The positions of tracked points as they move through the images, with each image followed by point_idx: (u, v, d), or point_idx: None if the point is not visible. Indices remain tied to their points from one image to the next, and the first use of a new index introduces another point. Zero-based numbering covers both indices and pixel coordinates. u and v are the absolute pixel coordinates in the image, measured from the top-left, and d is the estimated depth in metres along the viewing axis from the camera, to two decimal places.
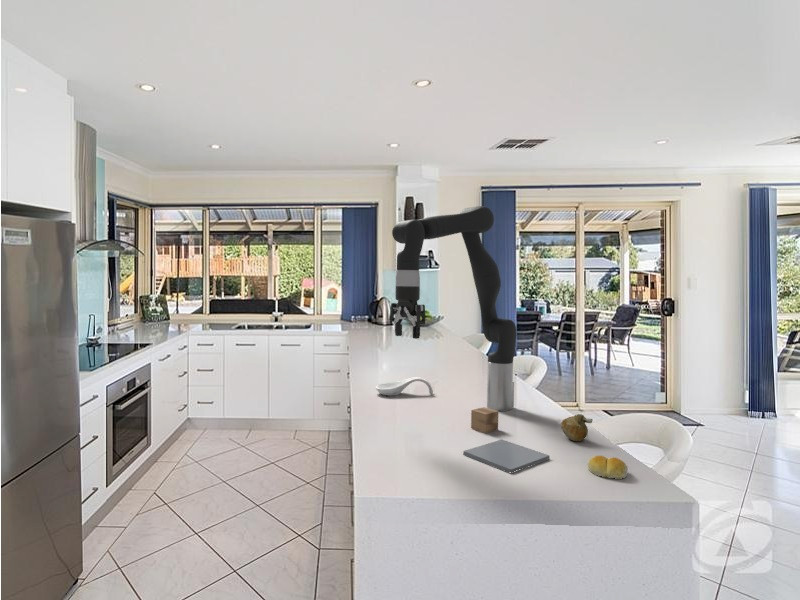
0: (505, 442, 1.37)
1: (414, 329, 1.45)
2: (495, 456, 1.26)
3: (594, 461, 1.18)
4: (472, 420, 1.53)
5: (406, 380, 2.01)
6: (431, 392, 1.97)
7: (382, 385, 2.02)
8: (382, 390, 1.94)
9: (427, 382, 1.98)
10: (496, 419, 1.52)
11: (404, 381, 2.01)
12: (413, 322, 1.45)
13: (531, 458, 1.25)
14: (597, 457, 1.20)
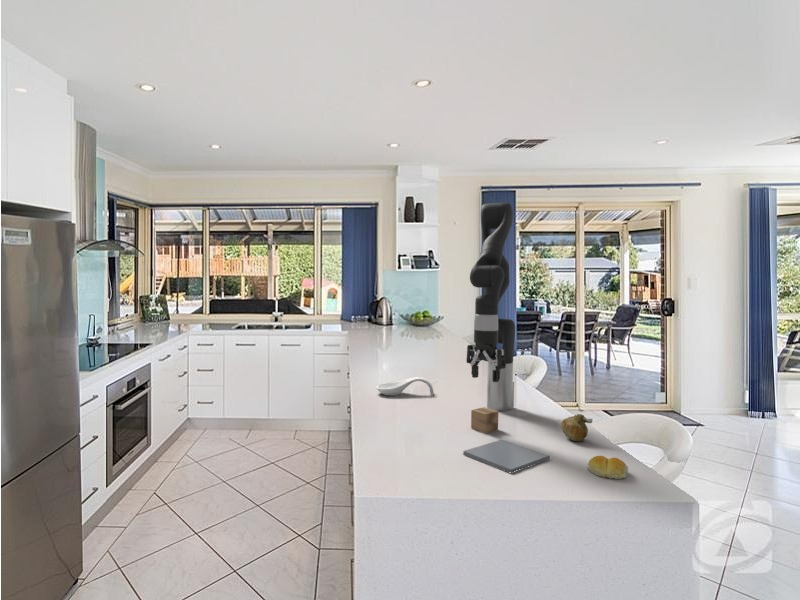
0: (505, 442, 1.37)
1: (494, 373, 1.48)
2: (495, 456, 1.26)
3: (595, 460, 1.18)
4: (472, 420, 1.53)
5: (407, 380, 2.01)
6: (432, 392, 1.97)
7: (383, 385, 2.03)
8: (382, 390, 1.94)
9: (428, 382, 1.97)
10: (496, 419, 1.52)
11: (405, 381, 2.01)
12: (493, 366, 1.48)
13: (531, 458, 1.25)
14: (597, 457, 1.20)
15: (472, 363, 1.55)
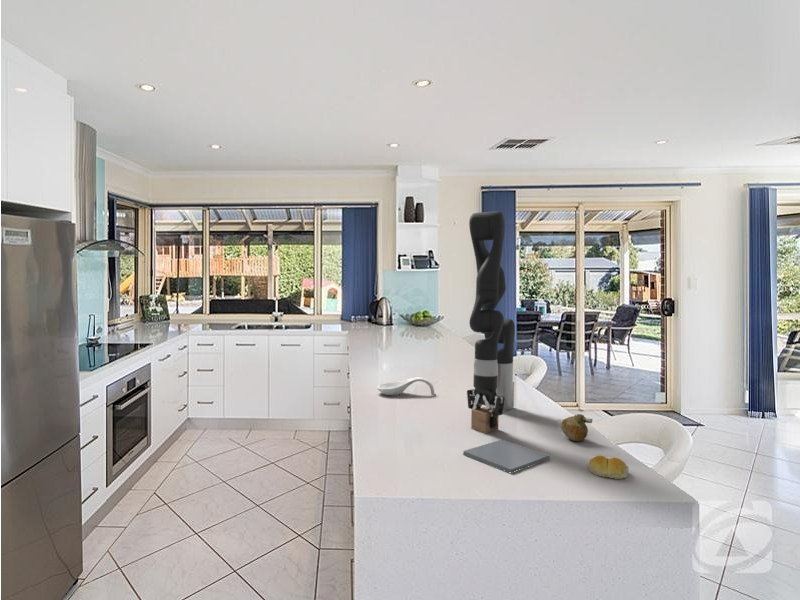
0: (505, 442, 1.37)
1: (491, 419, 1.49)
2: (495, 456, 1.26)
3: (595, 461, 1.18)
4: (473, 420, 1.53)
5: (408, 380, 2.01)
6: (432, 392, 1.96)
7: (384, 385, 2.03)
8: (383, 390, 1.94)
9: (428, 382, 1.97)
10: None
11: (406, 381, 2.01)
12: (491, 413, 1.49)
13: (531, 458, 1.25)
14: (598, 457, 1.20)
15: None
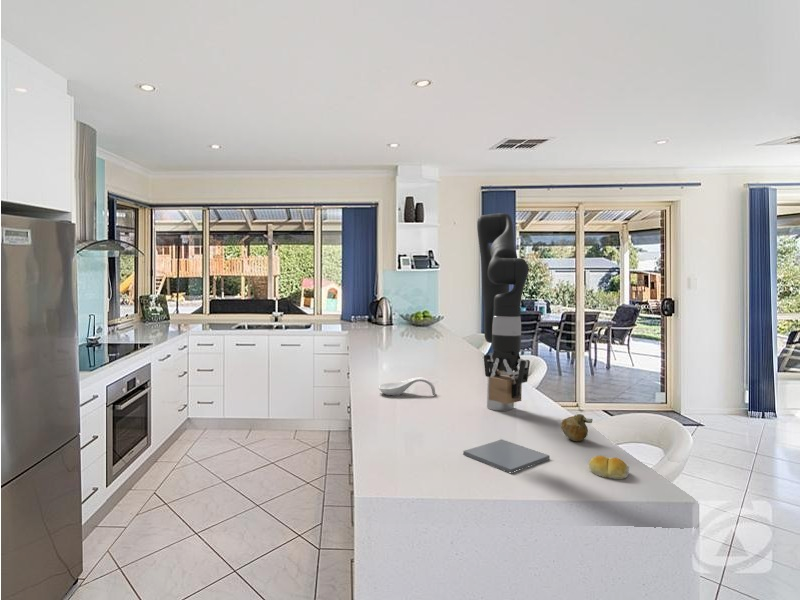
0: (505, 442, 1.37)
1: (514, 388, 1.25)
2: (495, 456, 1.26)
3: (595, 461, 1.18)
4: (491, 390, 1.28)
5: (409, 380, 2.01)
6: (433, 393, 1.96)
7: (386, 385, 2.03)
8: (384, 390, 1.94)
9: (429, 382, 1.97)
10: None
11: (407, 381, 2.01)
12: (513, 379, 1.24)
13: (531, 458, 1.25)
14: (598, 457, 1.19)
15: None
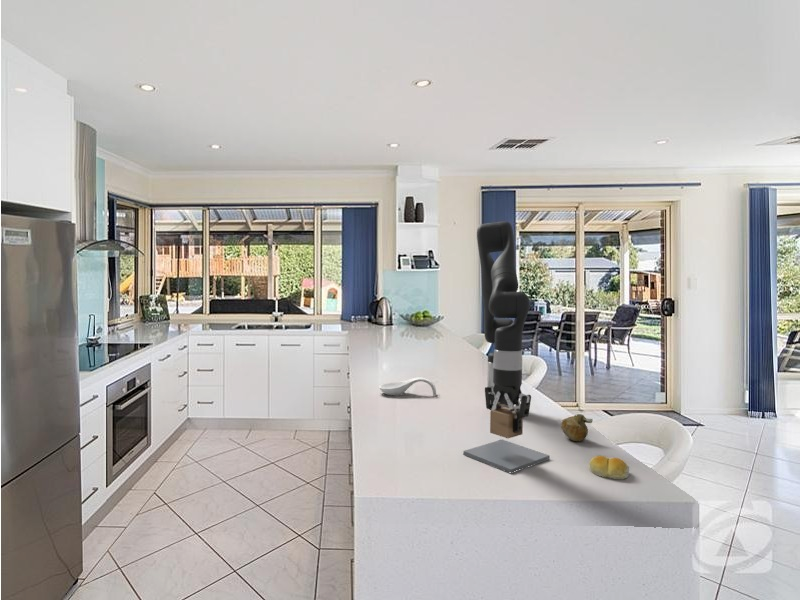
0: (505, 442, 1.37)
1: (515, 422, 1.25)
2: (495, 456, 1.26)
3: (596, 461, 1.18)
4: (492, 423, 1.28)
5: (410, 380, 2.01)
6: (434, 393, 1.96)
7: (387, 385, 2.03)
8: (384, 389, 1.95)
9: (430, 383, 1.96)
10: None
11: (408, 381, 2.01)
12: (514, 414, 1.24)
13: (531, 458, 1.25)
14: (598, 457, 1.19)
15: None
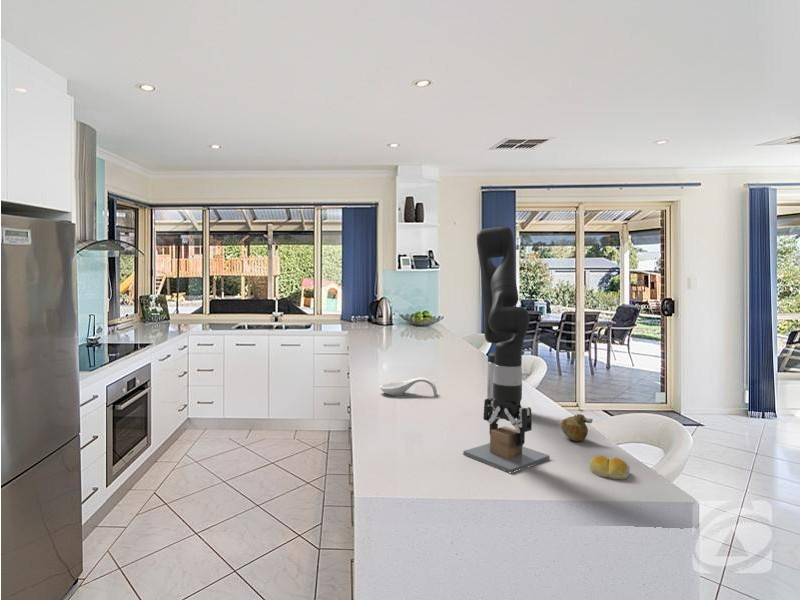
0: None
1: (518, 436, 1.24)
2: (495, 456, 1.26)
3: (596, 461, 1.18)
4: (492, 443, 1.28)
5: (411, 380, 2.00)
6: (435, 393, 1.95)
7: (388, 385, 2.04)
8: (385, 389, 1.95)
9: (431, 383, 1.96)
10: None
11: (409, 381, 2.01)
12: (517, 428, 1.24)
13: (531, 458, 1.25)
14: (599, 457, 1.19)
15: (490, 421, 1.31)
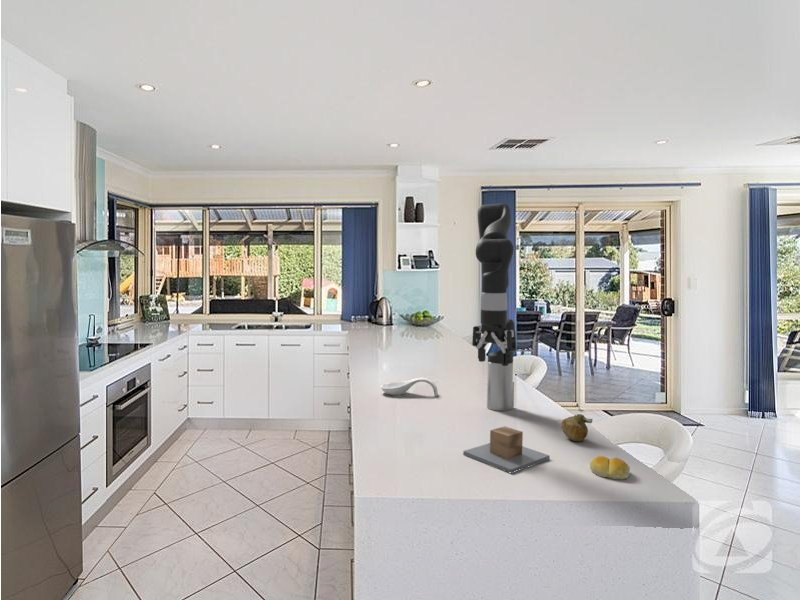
0: None
1: (504, 356, 1.36)
2: (495, 456, 1.26)
3: (596, 461, 1.18)
4: (492, 443, 1.28)
5: (412, 380, 2.00)
6: (435, 393, 1.95)
7: (389, 385, 2.04)
8: (385, 389, 1.95)
9: (431, 383, 1.96)
10: (520, 441, 1.27)
11: (410, 381, 2.01)
12: (503, 349, 1.36)
13: (531, 458, 1.25)
14: (599, 457, 1.19)
15: (479, 346, 1.43)
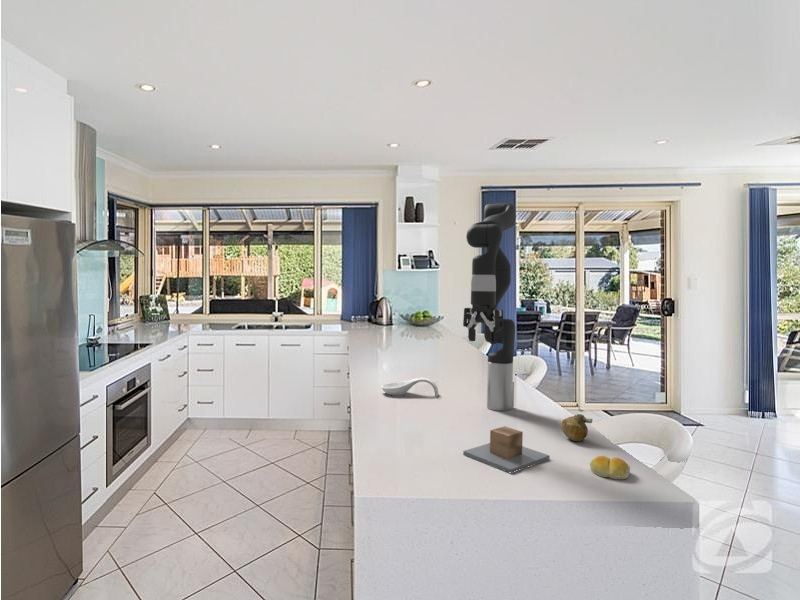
0: None
1: (492, 334, 1.43)
2: (495, 456, 1.26)
3: (597, 461, 1.18)
4: (492, 443, 1.28)
5: (412, 380, 2.00)
6: (436, 393, 1.95)
7: (390, 385, 2.04)
8: (386, 389, 1.95)
9: (432, 383, 1.96)
10: (520, 441, 1.27)
11: (411, 381, 2.01)
12: (491, 327, 1.43)
13: (531, 458, 1.25)
14: (599, 457, 1.19)
15: (469, 326, 1.50)
